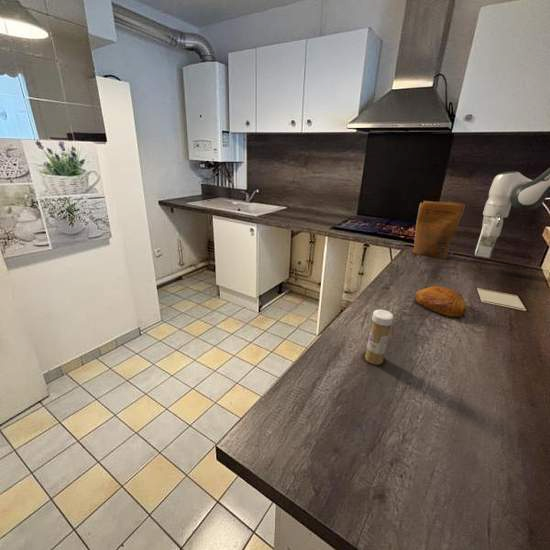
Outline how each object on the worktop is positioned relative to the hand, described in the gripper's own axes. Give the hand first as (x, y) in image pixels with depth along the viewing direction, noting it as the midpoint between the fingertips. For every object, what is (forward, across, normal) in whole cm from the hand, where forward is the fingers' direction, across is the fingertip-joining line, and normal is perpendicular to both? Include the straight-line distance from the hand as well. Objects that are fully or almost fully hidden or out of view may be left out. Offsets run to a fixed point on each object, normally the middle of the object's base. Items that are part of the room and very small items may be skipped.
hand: (486, 242), depth 129 cm
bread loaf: (+13, -49, +16) cm, 53 cm away
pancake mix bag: (+13, +10, +21) cm, 26 cm away
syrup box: (+6, 0, 0) cm, 6 cm away
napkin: (+13, -31, -3) cm, 34 cm away
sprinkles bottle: (+13, -89, +32) cm, 96 cm away
